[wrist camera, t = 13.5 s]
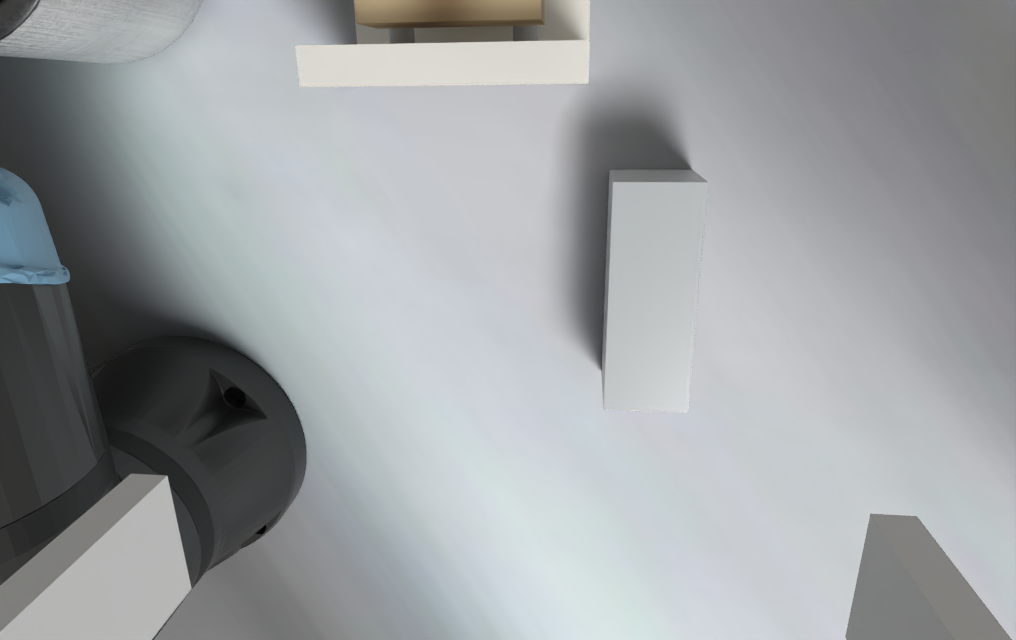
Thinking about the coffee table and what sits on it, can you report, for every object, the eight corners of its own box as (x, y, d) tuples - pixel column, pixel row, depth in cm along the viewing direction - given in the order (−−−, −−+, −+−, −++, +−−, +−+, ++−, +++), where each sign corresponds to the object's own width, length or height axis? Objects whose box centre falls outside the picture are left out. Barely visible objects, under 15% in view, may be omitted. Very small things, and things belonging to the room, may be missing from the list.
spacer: (601, 371, 40) (603, 409, 35) (609, 169, 36) (613, 181, 31) (675, 374, 39) (688, 413, 35) (692, 169, 35) (708, 182, 31)
